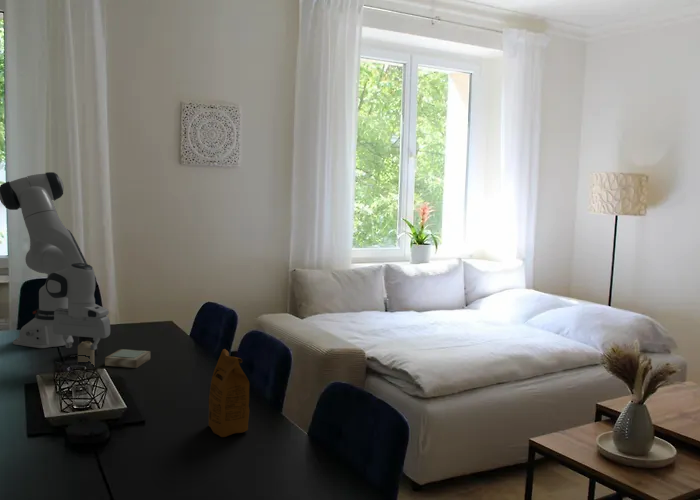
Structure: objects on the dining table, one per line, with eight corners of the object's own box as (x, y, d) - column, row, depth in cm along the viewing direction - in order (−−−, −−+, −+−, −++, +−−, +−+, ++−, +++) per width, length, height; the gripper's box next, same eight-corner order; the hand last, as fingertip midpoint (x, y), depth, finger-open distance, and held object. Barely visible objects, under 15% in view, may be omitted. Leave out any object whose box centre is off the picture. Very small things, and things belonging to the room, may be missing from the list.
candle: (88, 372, 229) (88, 344, 228) (74, 370, 230) (74, 343, 229) (97, 368, 235) (97, 340, 234) (83, 366, 236) (83, 339, 235)
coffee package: (236, 419, 192) (238, 345, 189) (252, 434, 181) (254, 356, 178) (203, 424, 187) (205, 349, 184) (217, 440, 176) (219, 360, 174)
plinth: (105, 365, 238) (105, 356, 238) (120, 356, 250) (120, 348, 250) (136, 367, 237) (136, 359, 236) (150, 359, 249) (150, 350, 248)
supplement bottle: (100, 352, 254) (101, 322, 253) (92, 357, 248) (92, 326, 246) (84, 351, 255) (84, 321, 254) (75, 356, 248) (74, 325, 247)
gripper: (48, 309, 228) (48, 348, 229) (103, 313, 225) (103, 353, 226) (59, 306, 234) (59, 344, 235) (112, 310, 231) (112, 348, 232)
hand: (81, 348), depth 230 cm, fingers open, 8 cm apart
